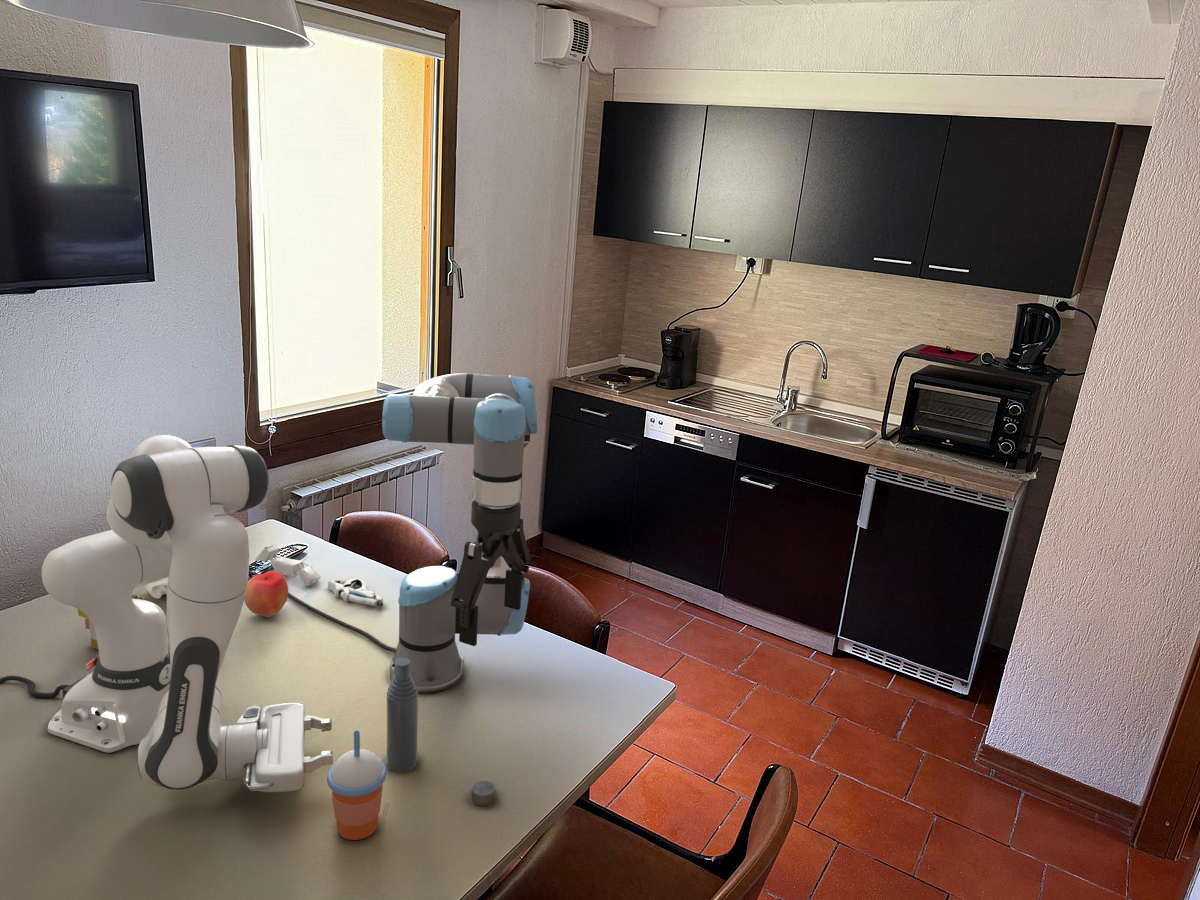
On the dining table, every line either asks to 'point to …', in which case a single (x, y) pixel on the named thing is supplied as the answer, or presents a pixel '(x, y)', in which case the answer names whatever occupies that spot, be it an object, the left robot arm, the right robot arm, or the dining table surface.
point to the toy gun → (355, 592)
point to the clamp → (288, 565)
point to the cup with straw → (357, 791)
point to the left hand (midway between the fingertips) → (332, 740)
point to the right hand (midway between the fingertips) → (491, 624)
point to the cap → (483, 793)
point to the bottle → (402, 719)
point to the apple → (266, 593)
